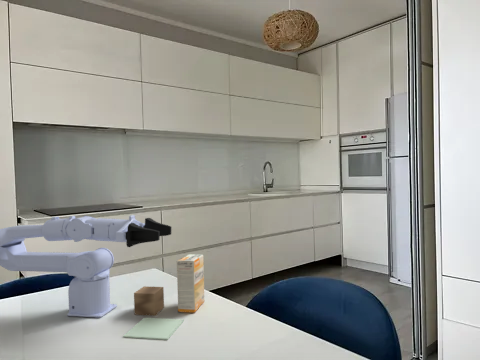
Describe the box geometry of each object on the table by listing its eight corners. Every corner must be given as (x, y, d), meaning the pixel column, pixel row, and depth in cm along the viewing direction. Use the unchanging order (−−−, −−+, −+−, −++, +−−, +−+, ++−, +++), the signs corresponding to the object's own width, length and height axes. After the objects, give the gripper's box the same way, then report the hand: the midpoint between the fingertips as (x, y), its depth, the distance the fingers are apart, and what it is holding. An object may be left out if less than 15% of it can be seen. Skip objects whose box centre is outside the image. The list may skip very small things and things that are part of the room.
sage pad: (123, 337, 76) (123, 335, 76) (144, 318, 86) (144, 317, 86) (167, 339, 74) (167, 338, 74) (183, 320, 84) (183, 319, 84)
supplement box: (195, 313, 89) (194, 260, 89) (177, 312, 90) (175, 260, 90) (205, 301, 97) (204, 253, 97) (188, 301, 98) (187, 253, 98)
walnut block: (134, 315, 89) (133, 293, 89) (144, 307, 94) (143, 286, 94) (155, 316, 88) (154, 293, 88) (164, 307, 93) (163, 287, 93)
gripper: (98, 218, 83) (153, 221, 81) (128, 211, 98) (175, 213, 95) (98, 248, 84) (152, 251, 81) (128, 237, 98) (175, 239, 96)
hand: (165, 233), depth 88 cm, fingers open, 7 cm apart
